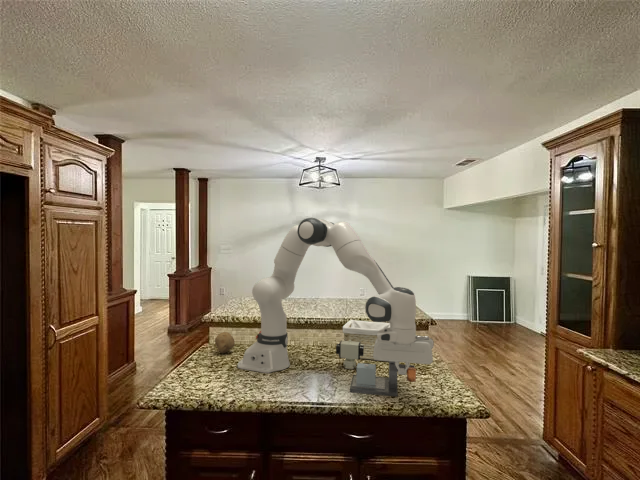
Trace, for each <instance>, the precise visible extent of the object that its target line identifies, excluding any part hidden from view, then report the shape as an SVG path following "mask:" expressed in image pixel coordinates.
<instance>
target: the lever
mask: <svg viewBox="0 0 640 480" xmlns="http://www.w3.org/2000/svg"><path fill="white" fill-rule="evenodd" d="M416 380H417V368H416V367H415V368H413V367H409V368H408V369H407V372H406V381H407V382H410V383H415V382H416Z"/></svg>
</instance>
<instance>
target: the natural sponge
mask: <svg viewBox="0 0 640 480" xmlns="http://www.w3.org/2000/svg"><path fill="white" fill-rule="evenodd" d="M214 342H215V346H216V348H217V350H218V352H219V353H221V354H225V353H227V352H228V351H229V350H230V351H231V349H233V348H234V346H235V345H236V344H235V343H236V342H235V339H234V337H233V335H232V334H231V333H229V332H227V331H224V332H220V333H219V334H217V336H216V337H215V338H214Z"/></svg>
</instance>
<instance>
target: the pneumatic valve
mask: <svg viewBox="0 0 640 480" xmlns="http://www.w3.org/2000/svg"><path fill="white" fill-rule="evenodd" d="M335 354H336V355H338V356H339V357H338V359H344V360H343V367H344V368H345V369H346V370H347V369H348V370H354V369H355V368H357V361H356V360H360V357H361V356H364V346H363V345H362V344H361V342H355V341H351V340H349V341H344V340H340V341H339V343H336V345H335Z"/></svg>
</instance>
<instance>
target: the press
mask: <svg viewBox="0 0 640 480" xmlns="http://www.w3.org/2000/svg"><path fill="white" fill-rule="evenodd" d="M405 366H406V364H402V363H401V364H400V363H399V367H400V368H405ZM409 367H413V368H415V369H416V367H415V365H412V364H410V366H409ZM406 373H407V370H406ZM356 380H357V374H353V376H352V379H351V382H350V387H349V393H352V394H353V393H355V394H364V395H365V394H366V395H375V396H376V395H377V396H388V397H396V398H397V397H398V394H399V392H398V369H397V367H396V365H395V362H392V361H388V377H387V376H376V383H375V385H367V384H356Z"/></svg>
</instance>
